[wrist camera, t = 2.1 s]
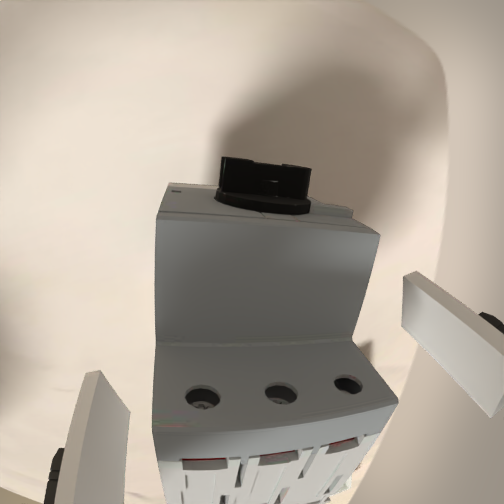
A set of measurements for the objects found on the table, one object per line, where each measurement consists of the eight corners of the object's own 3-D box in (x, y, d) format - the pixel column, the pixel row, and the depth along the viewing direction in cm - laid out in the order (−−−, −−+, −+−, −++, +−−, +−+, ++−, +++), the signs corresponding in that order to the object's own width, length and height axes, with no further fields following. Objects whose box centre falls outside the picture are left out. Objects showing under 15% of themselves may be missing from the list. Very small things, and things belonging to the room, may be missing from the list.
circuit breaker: (288, 160, 20) (472, 215, 6) (259, 341, 25) (327, 504, 11) (174, 148, 18) (142, 168, 4) (166, 340, 23) (172, 523, 9)
